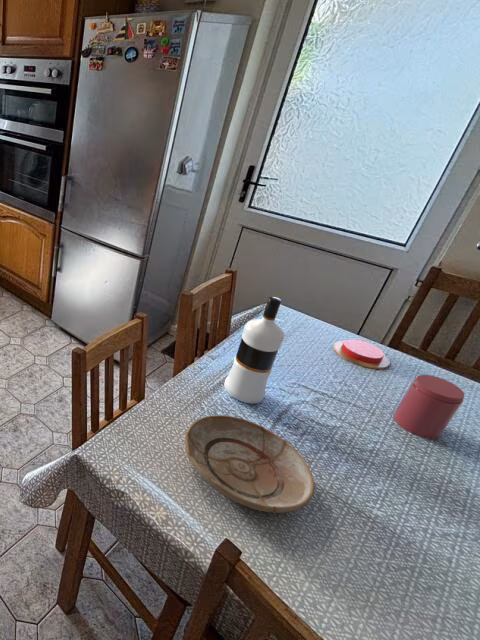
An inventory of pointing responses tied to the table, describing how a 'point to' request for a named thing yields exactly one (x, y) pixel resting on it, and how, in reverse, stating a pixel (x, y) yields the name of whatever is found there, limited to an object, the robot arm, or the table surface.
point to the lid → (362, 351)
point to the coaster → (380, 365)
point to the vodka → (255, 356)
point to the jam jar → (428, 406)
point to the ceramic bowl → (249, 464)
